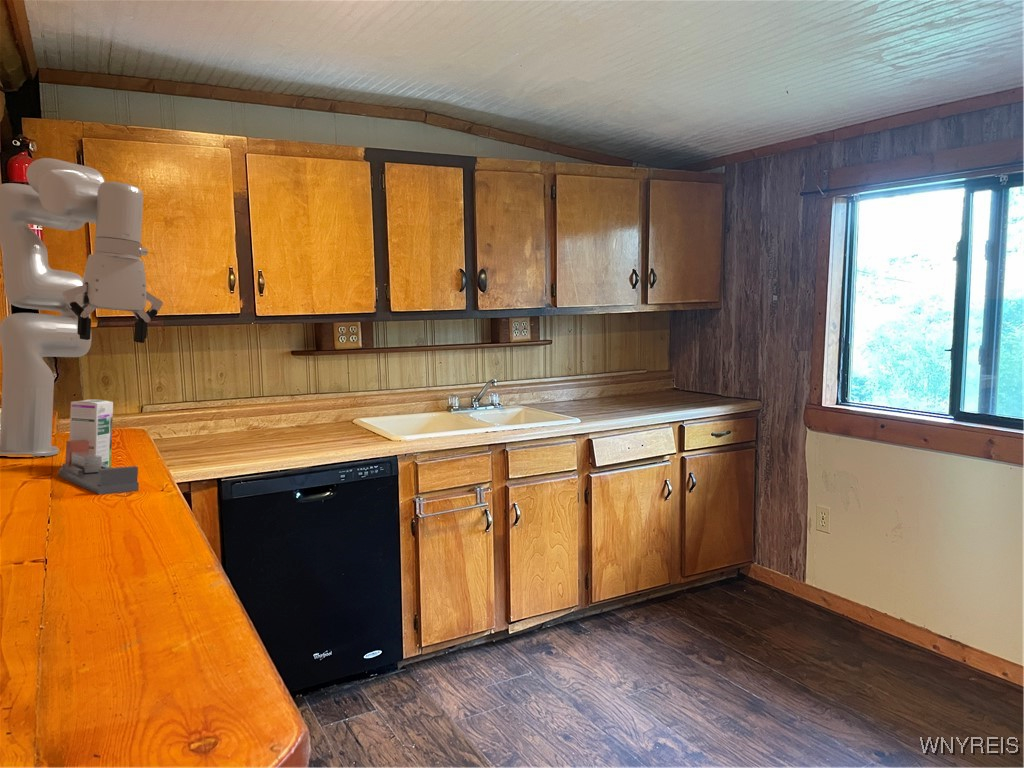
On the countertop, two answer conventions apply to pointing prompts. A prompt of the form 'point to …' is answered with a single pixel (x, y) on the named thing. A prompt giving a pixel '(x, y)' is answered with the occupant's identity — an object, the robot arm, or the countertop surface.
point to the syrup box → (93, 426)
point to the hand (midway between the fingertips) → (112, 340)
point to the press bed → (102, 478)
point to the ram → (82, 456)
